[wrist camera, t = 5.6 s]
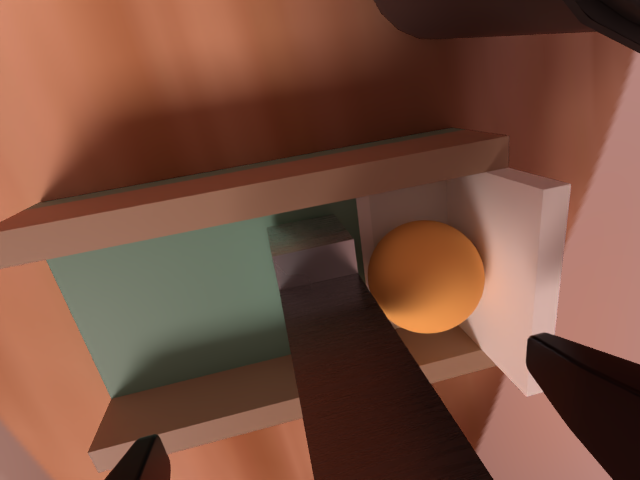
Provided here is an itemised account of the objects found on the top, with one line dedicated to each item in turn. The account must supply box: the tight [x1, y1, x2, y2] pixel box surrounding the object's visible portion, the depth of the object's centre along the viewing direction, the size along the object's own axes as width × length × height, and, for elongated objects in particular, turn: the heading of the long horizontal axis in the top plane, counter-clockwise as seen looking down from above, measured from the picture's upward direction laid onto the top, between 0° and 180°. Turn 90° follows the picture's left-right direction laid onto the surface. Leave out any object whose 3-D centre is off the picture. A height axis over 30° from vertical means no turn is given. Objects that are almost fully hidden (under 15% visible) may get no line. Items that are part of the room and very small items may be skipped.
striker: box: [267, 214, 493, 480], centre depth 10 cm, size 5×2×11 cm, turn 8°
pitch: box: [0, 128, 571, 473], centre depth 13 cm, size 9×15×6 cm, turn 98°
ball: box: [368, 220, 485, 334], centre depth 13 cm, size 4×4×4 cm
